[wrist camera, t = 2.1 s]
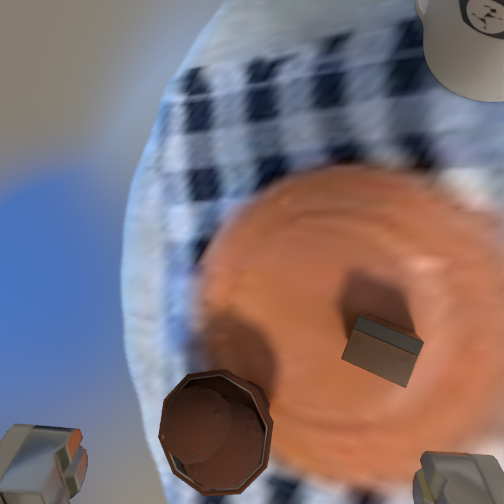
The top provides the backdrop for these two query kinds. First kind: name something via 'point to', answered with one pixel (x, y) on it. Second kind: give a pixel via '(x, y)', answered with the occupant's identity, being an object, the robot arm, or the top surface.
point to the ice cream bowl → (216, 432)
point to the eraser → (383, 348)
